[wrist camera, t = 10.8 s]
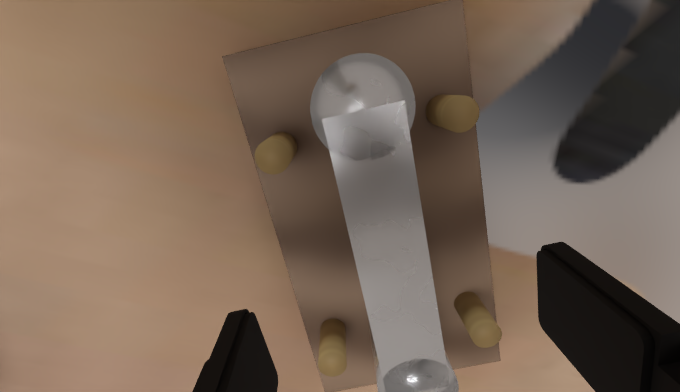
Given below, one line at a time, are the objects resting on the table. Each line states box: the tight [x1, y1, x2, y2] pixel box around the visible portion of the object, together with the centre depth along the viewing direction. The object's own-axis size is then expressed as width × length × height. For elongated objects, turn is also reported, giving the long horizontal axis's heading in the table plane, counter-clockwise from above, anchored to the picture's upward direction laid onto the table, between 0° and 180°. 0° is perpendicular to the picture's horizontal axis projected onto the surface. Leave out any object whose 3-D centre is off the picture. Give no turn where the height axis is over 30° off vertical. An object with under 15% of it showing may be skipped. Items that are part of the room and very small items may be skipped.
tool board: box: [222, 0, 502, 392], centre depth 19 cm, size 22×12×4 cm, turn 13°
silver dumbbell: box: [310, 53, 458, 392], centre depth 17 cm, size 18×4×5 cm, turn 13°
